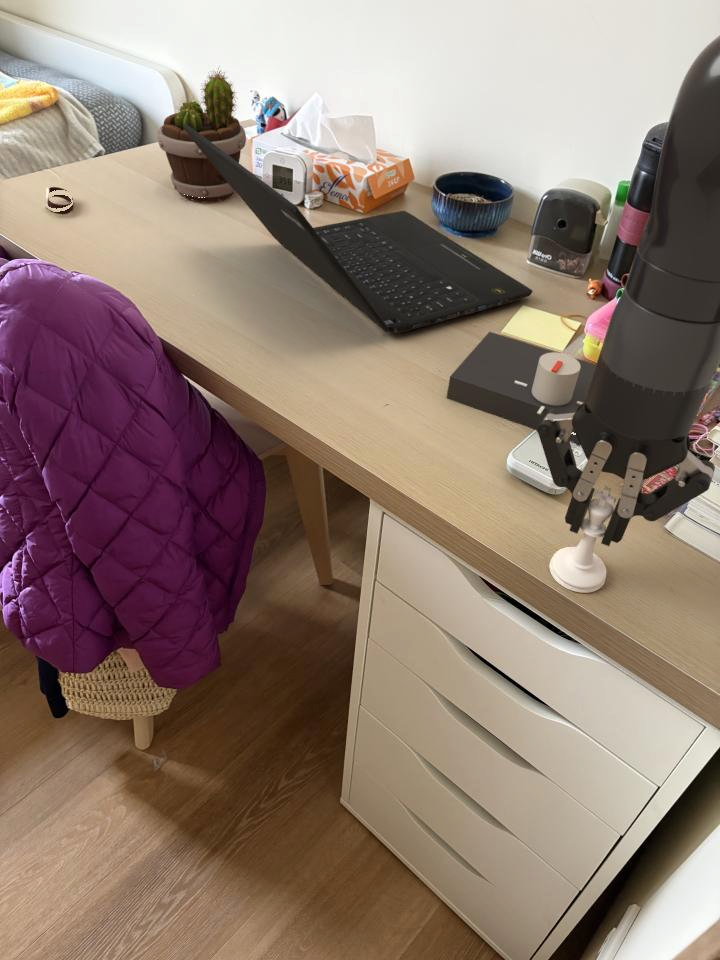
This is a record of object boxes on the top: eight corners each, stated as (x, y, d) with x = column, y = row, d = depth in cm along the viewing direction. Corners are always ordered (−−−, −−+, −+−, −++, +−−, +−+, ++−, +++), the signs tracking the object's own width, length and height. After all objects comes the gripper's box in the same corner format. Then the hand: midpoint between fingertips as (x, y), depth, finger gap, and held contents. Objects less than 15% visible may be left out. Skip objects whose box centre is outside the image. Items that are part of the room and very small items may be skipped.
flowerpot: (157, 207, 121) (138, 74, 107) (174, 175, 132) (158, 52, 119) (243, 211, 121) (235, 79, 108) (253, 179, 132) (246, 56, 119)
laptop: (533, 303, 101) (565, 160, 88) (295, 369, 86) (293, 208, 73) (404, 218, 122) (415, 92, 109) (194, 259, 107) (178, 118, 94)
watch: (45, 201, 120) (40, 179, 118) (75, 199, 122) (70, 177, 119) (45, 219, 115) (39, 196, 113) (76, 216, 116) (71, 194, 114)
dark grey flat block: (609, 391, 85) (617, 369, 83) (577, 451, 76) (584, 428, 74) (485, 352, 91) (489, 330, 89) (441, 403, 82) (445, 380, 80)
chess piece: (562, 543, 66) (590, 460, 60) (613, 567, 64) (648, 485, 57) (540, 575, 63) (566, 492, 56) (592, 602, 61) (626, 519, 54)
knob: (539, 378, 81) (547, 345, 78) (576, 390, 80) (586, 357, 77) (525, 397, 78) (534, 363, 75) (564, 410, 77) (574, 376, 74)
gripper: (543, 351, 49) (499, 528, 60) (758, 417, 44) (665, 596, 55) (575, 306, 54) (529, 478, 65) (772, 362, 49) (684, 537, 60)
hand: (592, 532), depth 60 cm, fingers closed on chess piece
